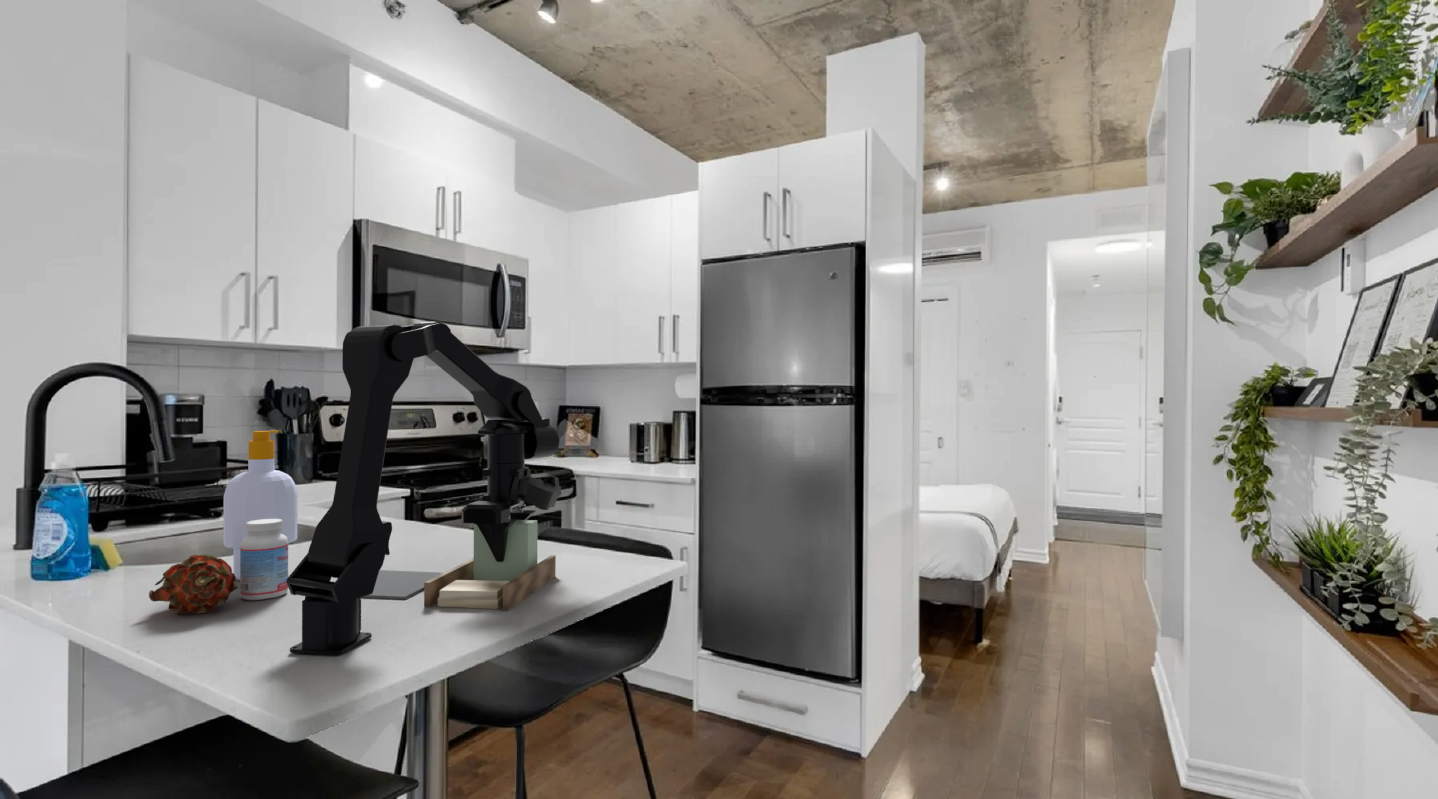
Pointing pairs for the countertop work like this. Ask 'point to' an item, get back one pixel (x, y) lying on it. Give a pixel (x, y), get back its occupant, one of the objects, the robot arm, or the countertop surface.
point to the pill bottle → (263, 560)
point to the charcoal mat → (400, 584)
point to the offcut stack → (472, 594)
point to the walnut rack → (511, 590)
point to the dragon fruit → (196, 585)
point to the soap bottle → (258, 496)
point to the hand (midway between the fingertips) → (505, 558)
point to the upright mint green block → (507, 553)
